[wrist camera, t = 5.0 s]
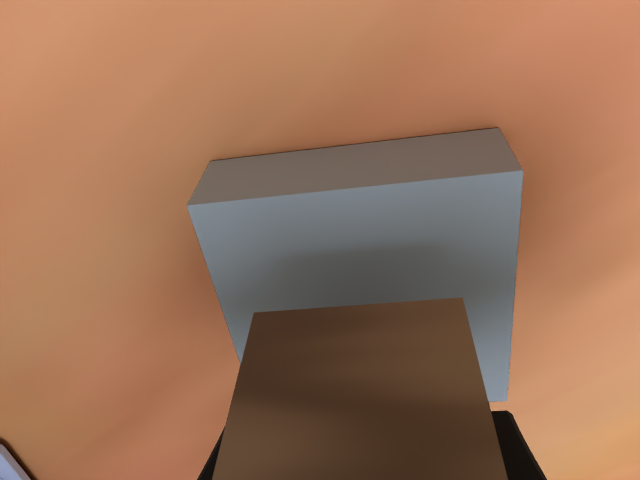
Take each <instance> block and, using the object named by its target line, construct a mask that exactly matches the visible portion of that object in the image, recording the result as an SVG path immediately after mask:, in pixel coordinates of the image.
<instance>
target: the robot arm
mask: <svg viewBox="0 0 640 480" xmlns="http://www.w3.org/2000/svg"><path fill="white" fill-rule="evenodd" d="M491 414H492V418H493V422H494V426H495V430H496V434H497V438H498V442H499V446H500V450H501V454H502V458H503V462H504V466H505V470H506V474H507V478H508V480H547V479H546V477H545V475H544V473H543V472H542V470H541V468H540V467H539V465H538V463H537V461H536V460H535V458H534V456H533V454H532V453H531V451H530V449H529V447H528V445H527V443H526V441H525V440H524V438H523V436H522V434H521V432H520V430H519V428H518V426H517V424H516V422H515V419H514V417H513V415H512V414H511V413H510V412H508V411H491ZM224 429H225V427H224ZM224 429H223V431H222V433H221V435H220V437H219V439H218V441H217V443H216V445H215V447H214V449H213V451H212V453H211V455H210V457H209V459H208V461H207V462H206V464H205V466H204V468H203V470H202V472H201V473H200V475H199V477H198V479H197V480H212V477H213V473H214V469H215V465H216V461H217V457H218V453H219V449H220V445H221V441H222V437H223V433H224ZM0 480H31V479H30V478H29V477H28V475H27V474H26V473H25V472H24V470H23V469H22V468H21V467H20V465H19V464H18V463H17V462H16V460H15V459H14V458H13V457H12V455H11V454H10V453H9V452H8V450H7V449H6V448H5V447H4V446H3V445H2V444H0Z"/></svg>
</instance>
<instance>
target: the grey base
mask: <svg viewBox="0 0 640 480" xmlns="http://www.w3.org/2000/svg"><path fill="white" fill-rule="evenodd" d="M522 184H523V169H522V167H521V165H520V163H519V162H518V160H517V158H516V157H515V155H514V153H513V151H512V150H511V148H510V146H509V144H508V143H507V141H506V139H505V137H504V136H503V134H502V132H501V130H500V129H499V128H492V129H483V130H475V131H466V132H457V133H449V134H440V135H431V136H423V137H414V138H406V139H397V140H388V141H380V142H371V143H362V144H354V145H345V146H336V147H328V148H319V149H311V150H302V151H293V152H285V153H276V154H267V155H259V156H250V157H242V158H233V159H224V160H216V161H210V163H209V164H208V166H207V168H206V170H205V172H204V174H203V176H202V178H201V179H200V181H199V183H198V185H197V187H196V189H195V191H194V193H193V194H192V196H191V198H190V200H189V202H188V204H187V208H188V211H189V214H190V217H191V220H192V223H193V226H194V229H195V232H196V235H197V238H198V241H199V244H200V247H201V250H202V253H203V255H204V258H205V261H206V264H207V267H208V270H209V273H210V276H211V279H212V282H213V285H214V288H215V291H216V294H217V297H218V300H219V303H220V305H221V308H222V311H223V314H224V317H225V320H226V323H227V326H228V329H229V332H230V335H231V338H232V341H233V344H234V347H235V350H236V352H237V355H238V358H239V361H240V364H241V361H242V357H243V353H244V349H245V345H246V341H247V337H248V333H249V329H250V325H251V321H252V317H253V313H255V312H268V311H282V310H296V309H310V308H324V307H337V306H351V305H365V304H379V303H393V302H406V301H420V300H434V299H448V298H461V297H463V301H464V305H465V309H466V313H467V317H468V321H469V325H470V329H471V333H472V337H473V341H474V345H475V349H476V353H477V357H478V361H479V365H480V369H481V374H482V378H483V382H484V386H485V390H486V394H487V398H488V402H496V401H507V395H508V381H509V367H510V353H511V339H512V325H513V311H514V296H515V282H516V268H517V254H518V240H519V226H520V212H521V198H522Z"/></svg>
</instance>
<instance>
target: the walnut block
mask: <svg viewBox="0 0 640 480" xmlns="http://www.w3.org/2000/svg"><path fill="white" fill-rule="evenodd" d="M212 480H508V478H507V474H506V470H505V466H504V462H503V458H502V454H501V450H500V446H499V442H498V438H497V434H496V430H495V426H494V422H493V418H492V414H491V410H490V406H489V402H488V398H487V394H486V390H485V386H484V382H483V378H482V374H481V369H480V365H479V361H478V357H477V353H476V349H475V345H474V341H473V337H472V333H471V329H470V325H469V321H468V317H467V313H466V309H465V305H464V301H463V297H461V298H448V299H434V300H420V301H406V302H393V303H379V304H365V305H351V306H337V307H324V308H310V309H296V310H282V311H268V312H255V313H253V317H252V321H251V325H250V329H249V333H248V337H247V341H246V345H245V349H244V353H243V357H242V361H241V365H240V369H239V373H238V377H237V381H236V385H235V389H234V393H233V397H232V401H231V405H230V409H229V413H228V417H227V421H226V425H225V429H224V433H223V437H222V441H221V445H220V449H219V453H218V457H217V461H216V465H215V469H214V473H213V477H212Z"/></svg>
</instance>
